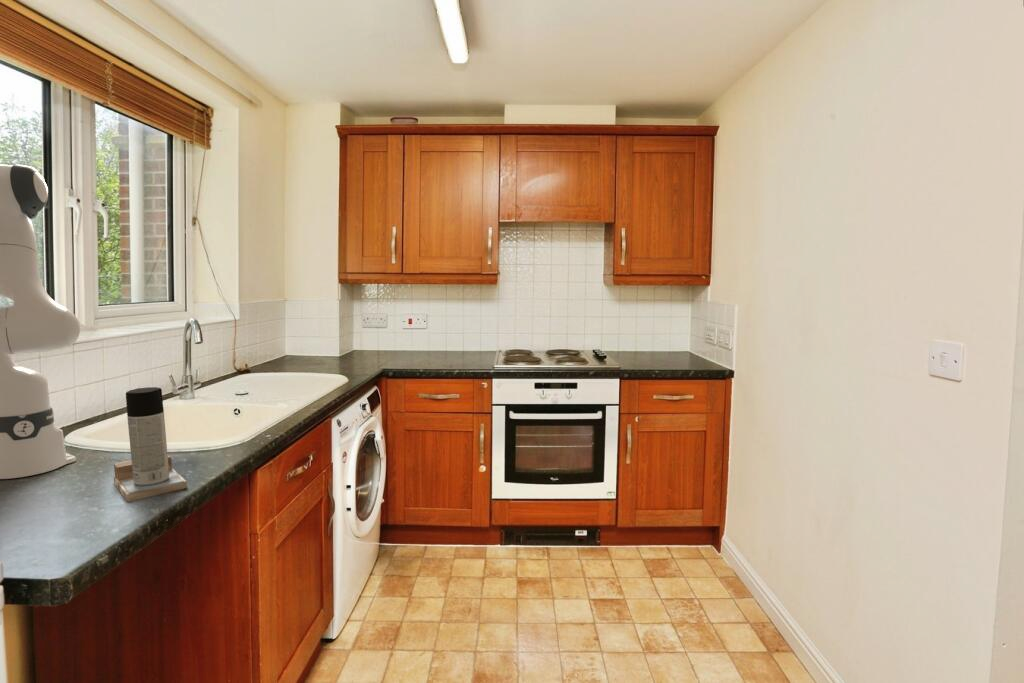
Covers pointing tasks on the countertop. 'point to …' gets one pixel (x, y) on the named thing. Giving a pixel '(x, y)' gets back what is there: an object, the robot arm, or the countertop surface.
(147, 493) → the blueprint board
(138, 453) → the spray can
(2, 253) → the robot arm
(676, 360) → the countertop surface
